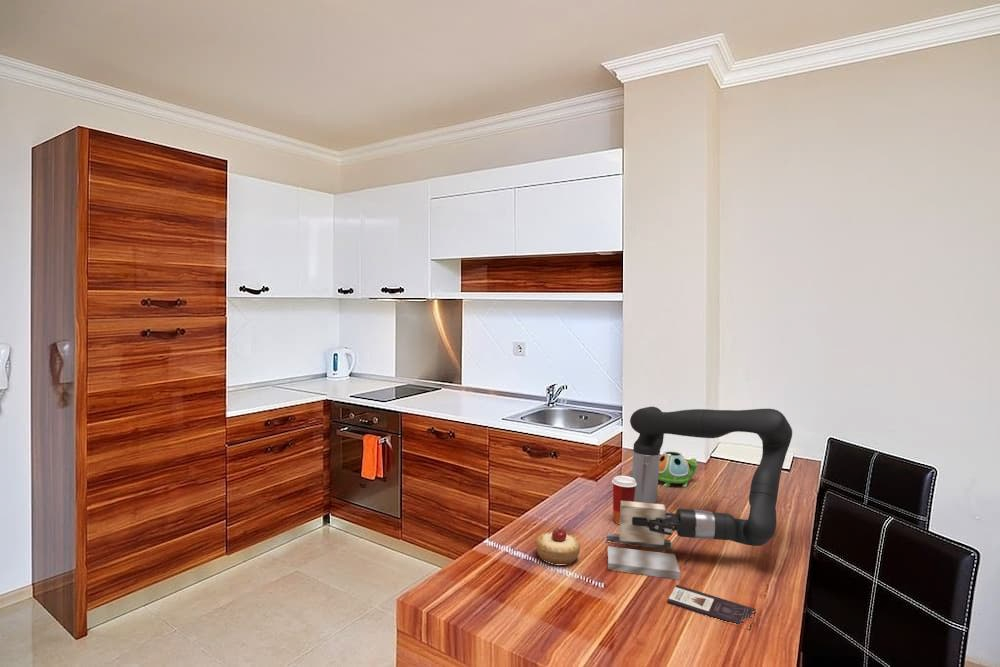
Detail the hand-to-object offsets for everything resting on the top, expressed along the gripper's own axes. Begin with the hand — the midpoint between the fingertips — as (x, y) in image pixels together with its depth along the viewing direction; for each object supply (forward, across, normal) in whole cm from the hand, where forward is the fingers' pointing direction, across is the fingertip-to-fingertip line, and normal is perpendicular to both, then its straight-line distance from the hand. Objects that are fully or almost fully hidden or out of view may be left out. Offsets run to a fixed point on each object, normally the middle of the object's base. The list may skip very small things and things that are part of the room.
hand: (632, 517), depth 155 cm
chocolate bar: (-17, +25, +10) cm, 32 cm away
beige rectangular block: (-3, 0, +6) cm, 7 cm away
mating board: (-2, +4, +10) cm, 11 cm away
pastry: (+20, +9, +10) cm, 24 cm away
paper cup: (+1, -20, +10) cm, 23 cm away
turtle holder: (-21, -66, +10) cm, 69 cm away
